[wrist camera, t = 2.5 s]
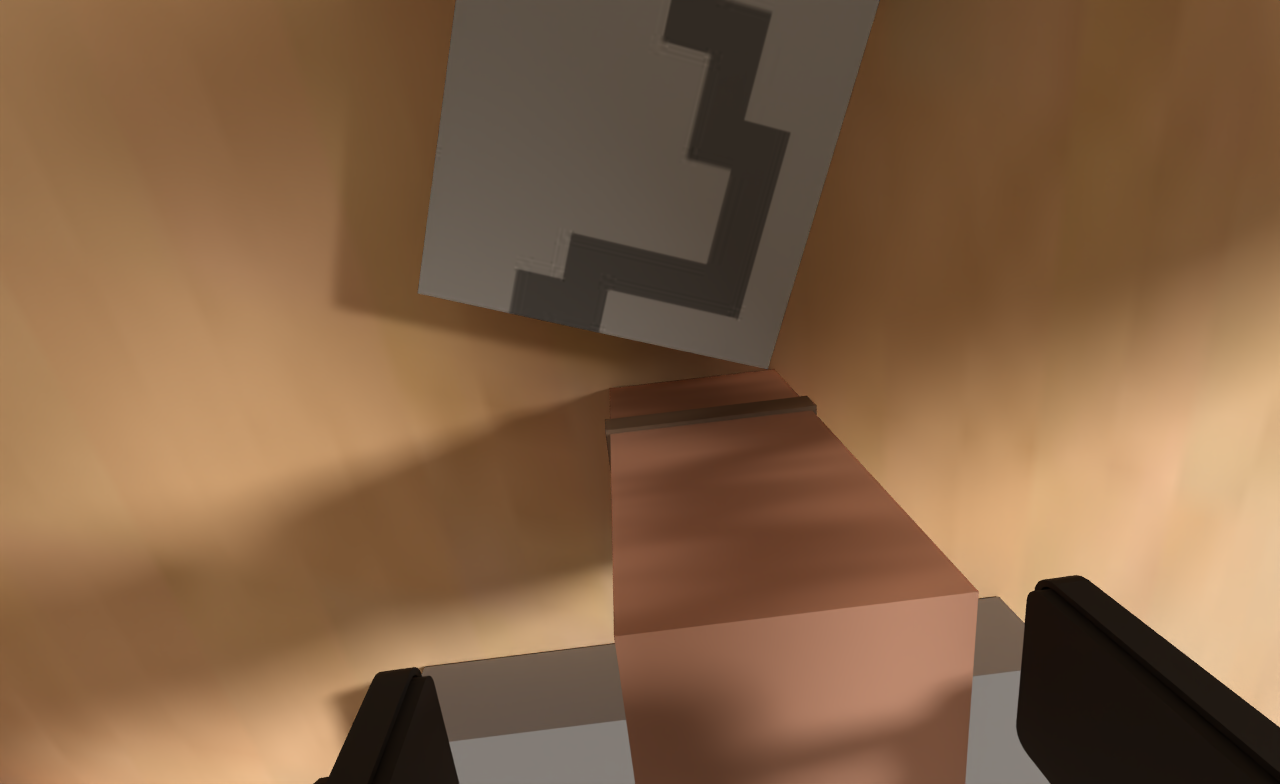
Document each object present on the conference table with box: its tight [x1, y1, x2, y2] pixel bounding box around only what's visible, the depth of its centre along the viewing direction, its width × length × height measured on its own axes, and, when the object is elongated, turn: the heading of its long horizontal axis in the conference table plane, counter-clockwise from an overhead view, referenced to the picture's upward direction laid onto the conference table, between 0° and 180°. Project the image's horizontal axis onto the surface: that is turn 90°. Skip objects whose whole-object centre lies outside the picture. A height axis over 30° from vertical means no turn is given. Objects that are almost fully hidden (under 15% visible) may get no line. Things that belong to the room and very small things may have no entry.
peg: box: [605, 369, 979, 784], centre depth 13 cm, size 5×5×10 cm
